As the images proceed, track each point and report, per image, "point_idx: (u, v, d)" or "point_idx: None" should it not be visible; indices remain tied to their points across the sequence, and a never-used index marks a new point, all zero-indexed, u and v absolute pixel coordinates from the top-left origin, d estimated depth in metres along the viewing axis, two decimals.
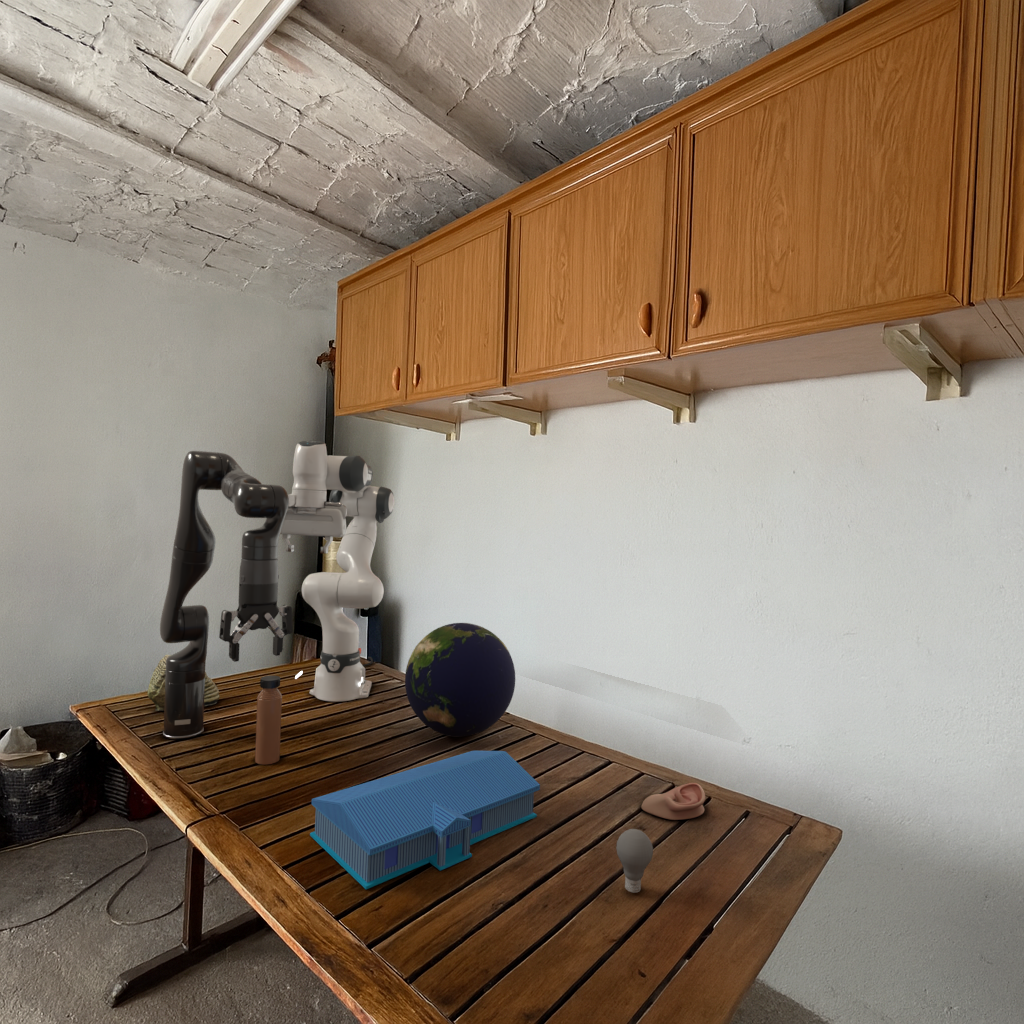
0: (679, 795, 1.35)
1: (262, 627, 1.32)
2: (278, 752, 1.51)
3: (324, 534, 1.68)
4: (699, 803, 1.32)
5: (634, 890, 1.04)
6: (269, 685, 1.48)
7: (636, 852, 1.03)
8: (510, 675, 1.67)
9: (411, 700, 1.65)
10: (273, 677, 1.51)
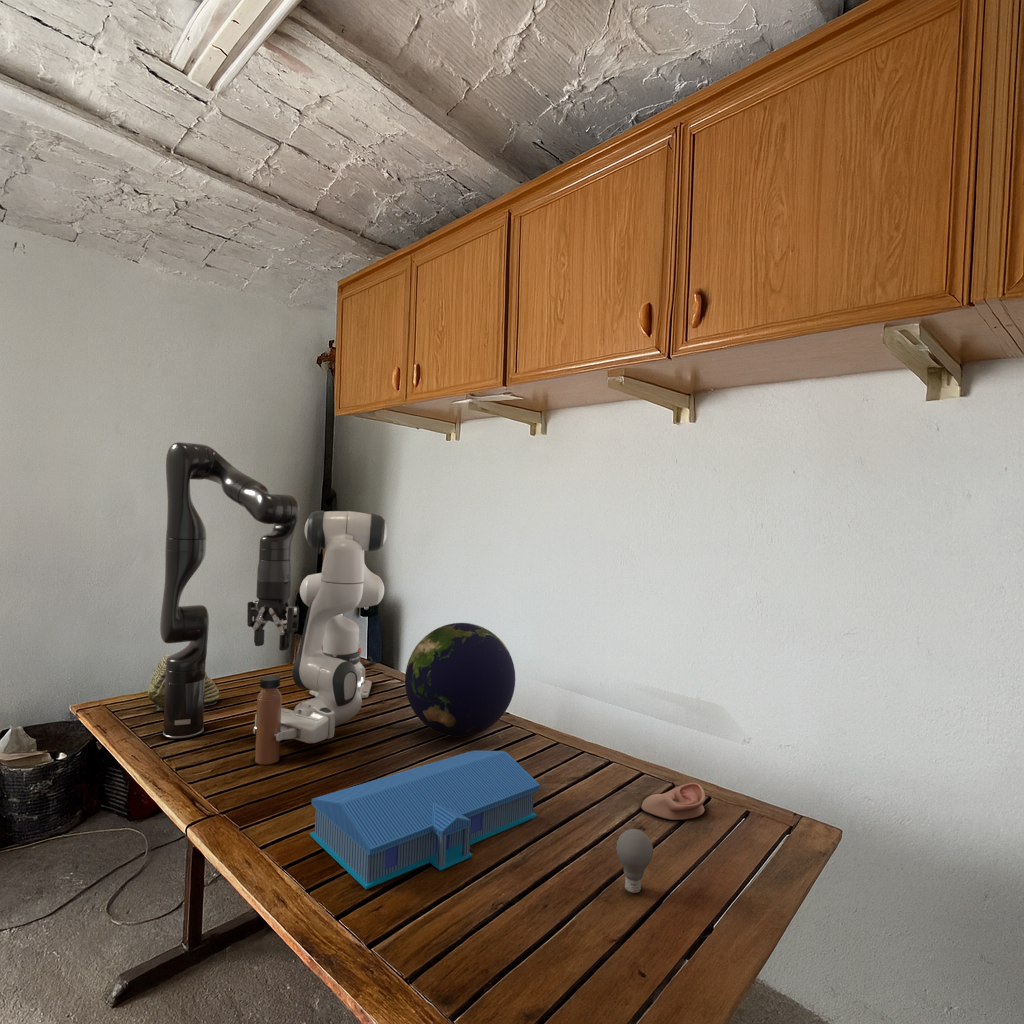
0: (679, 795, 1.35)
1: None
2: (278, 752, 1.51)
3: None
4: (699, 803, 1.32)
5: (634, 890, 1.04)
6: (268, 685, 1.48)
7: (636, 852, 1.03)
8: (510, 675, 1.67)
9: (411, 700, 1.65)
10: (273, 677, 1.51)
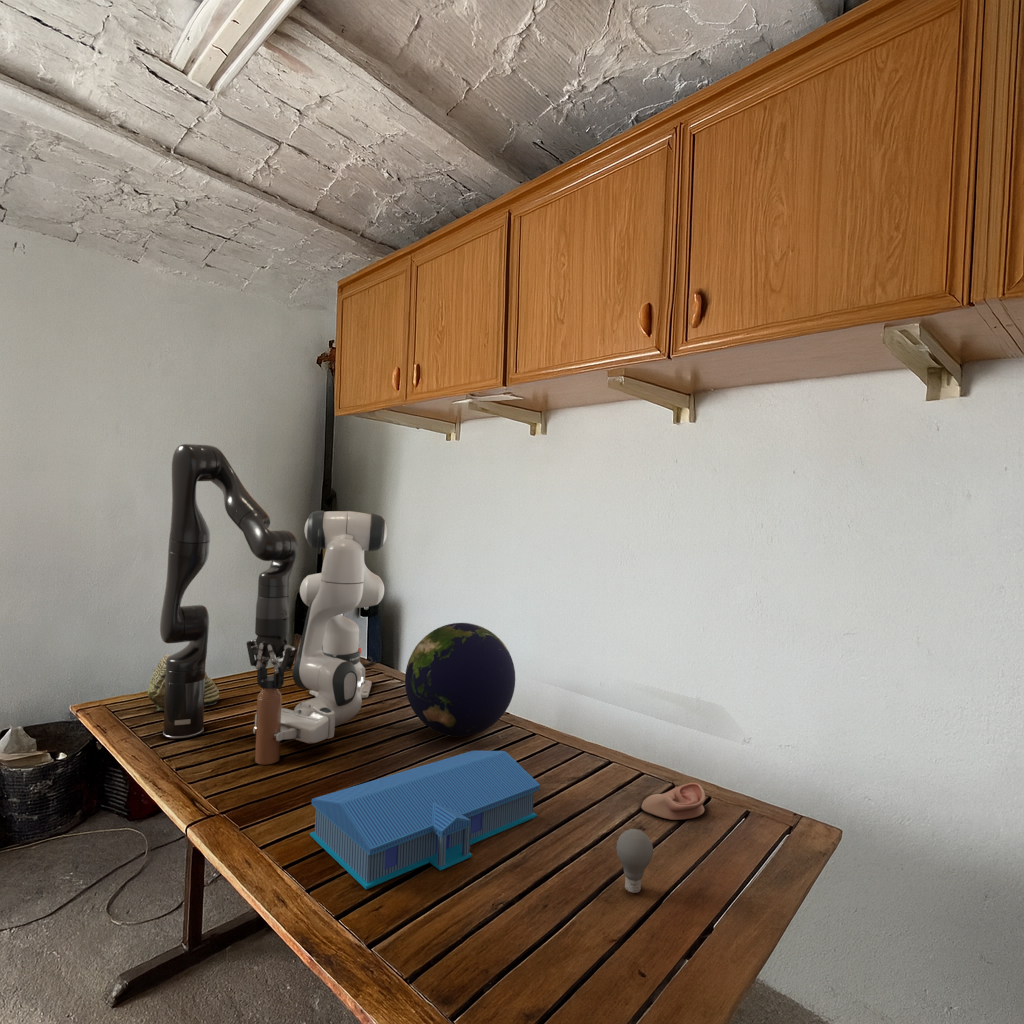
0: (679, 795, 1.35)
1: None
2: (278, 752, 1.51)
3: None
4: (699, 803, 1.32)
5: (634, 890, 1.04)
6: (268, 685, 1.48)
7: (636, 852, 1.03)
8: (510, 675, 1.67)
9: (411, 700, 1.65)
10: (273, 677, 1.51)
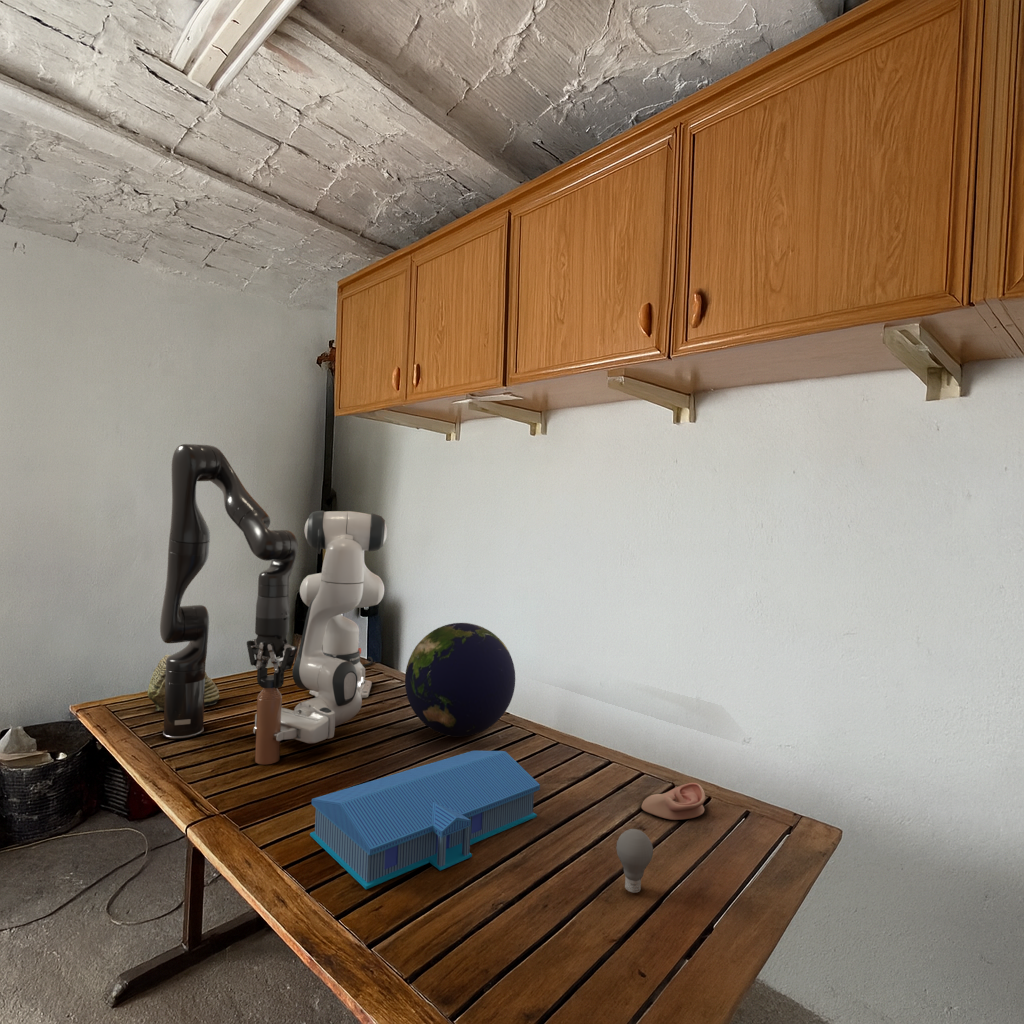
0: (679, 795, 1.35)
1: None
2: (278, 752, 1.51)
3: None
4: (699, 803, 1.32)
5: (634, 890, 1.04)
6: None
7: (636, 852, 1.03)
8: (510, 675, 1.67)
9: (411, 700, 1.65)
10: (268, 677, 1.51)
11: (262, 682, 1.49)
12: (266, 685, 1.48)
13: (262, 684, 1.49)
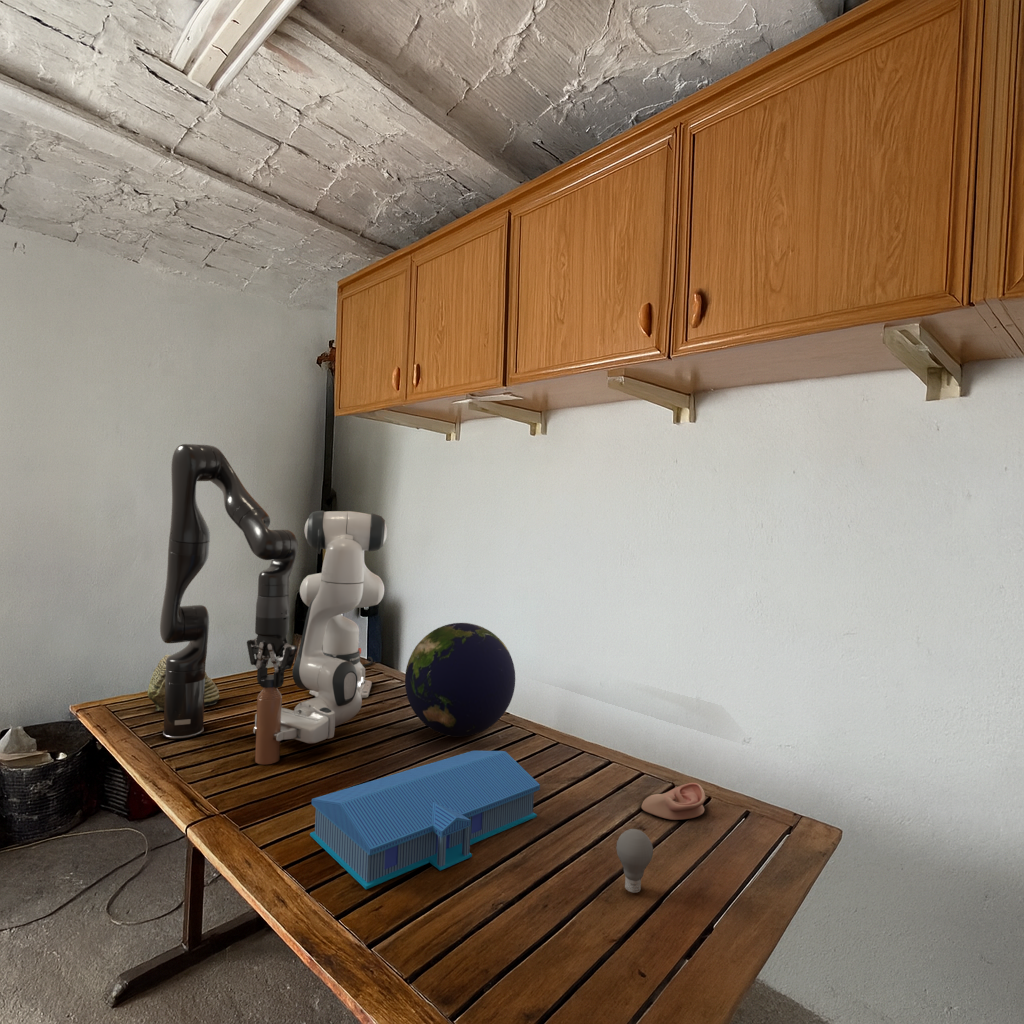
0: (679, 795, 1.35)
1: None
2: (278, 752, 1.51)
3: None
4: (699, 803, 1.32)
5: (634, 890, 1.04)
6: None
7: (636, 852, 1.03)
8: (510, 675, 1.67)
9: (411, 700, 1.65)
10: (267, 677, 1.50)
11: None
12: None
13: None
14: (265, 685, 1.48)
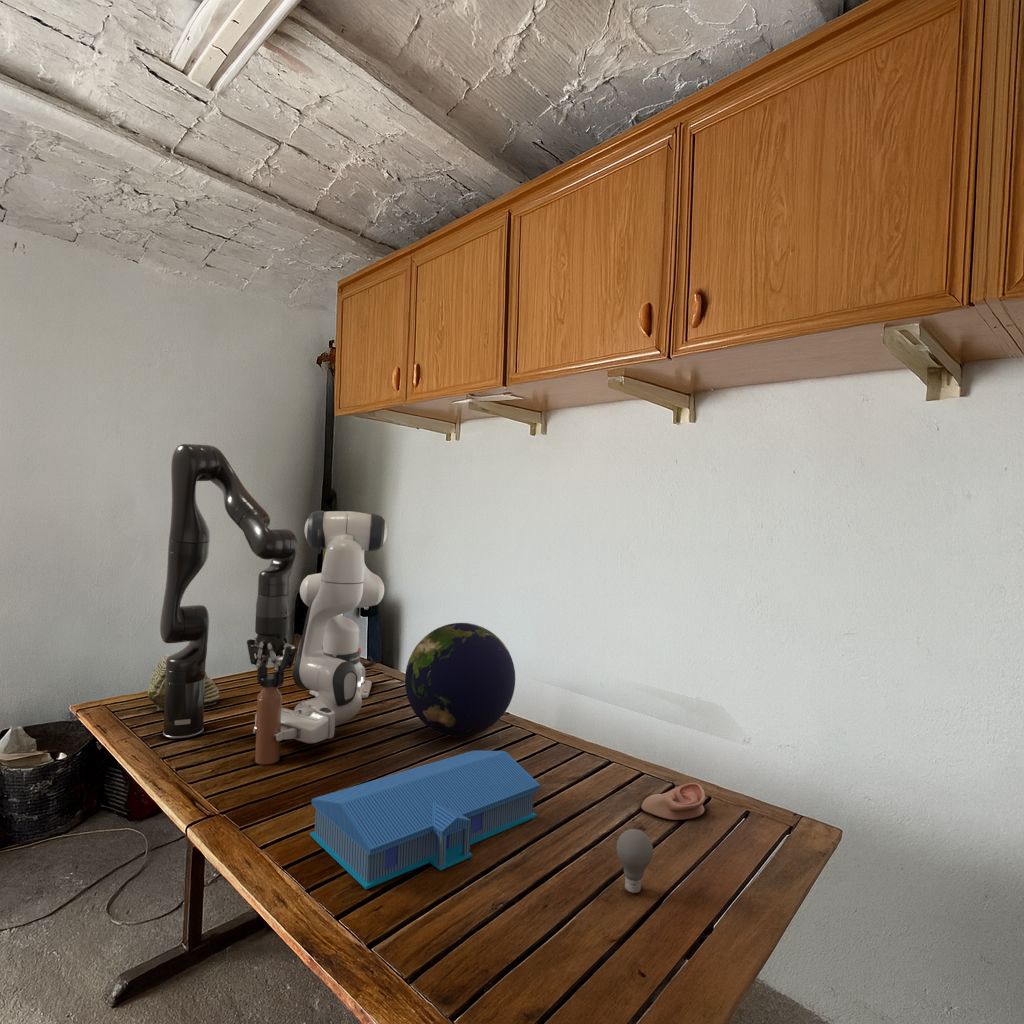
0: (679, 795, 1.35)
1: None
2: (278, 752, 1.51)
3: None
4: (699, 803, 1.32)
5: (634, 890, 1.04)
6: (260, 682, 1.49)
7: (636, 852, 1.03)
8: (510, 675, 1.67)
9: (411, 700, 1.65)
10: (273, 677, 1.50)
11: None
12: None
13: None
14: None
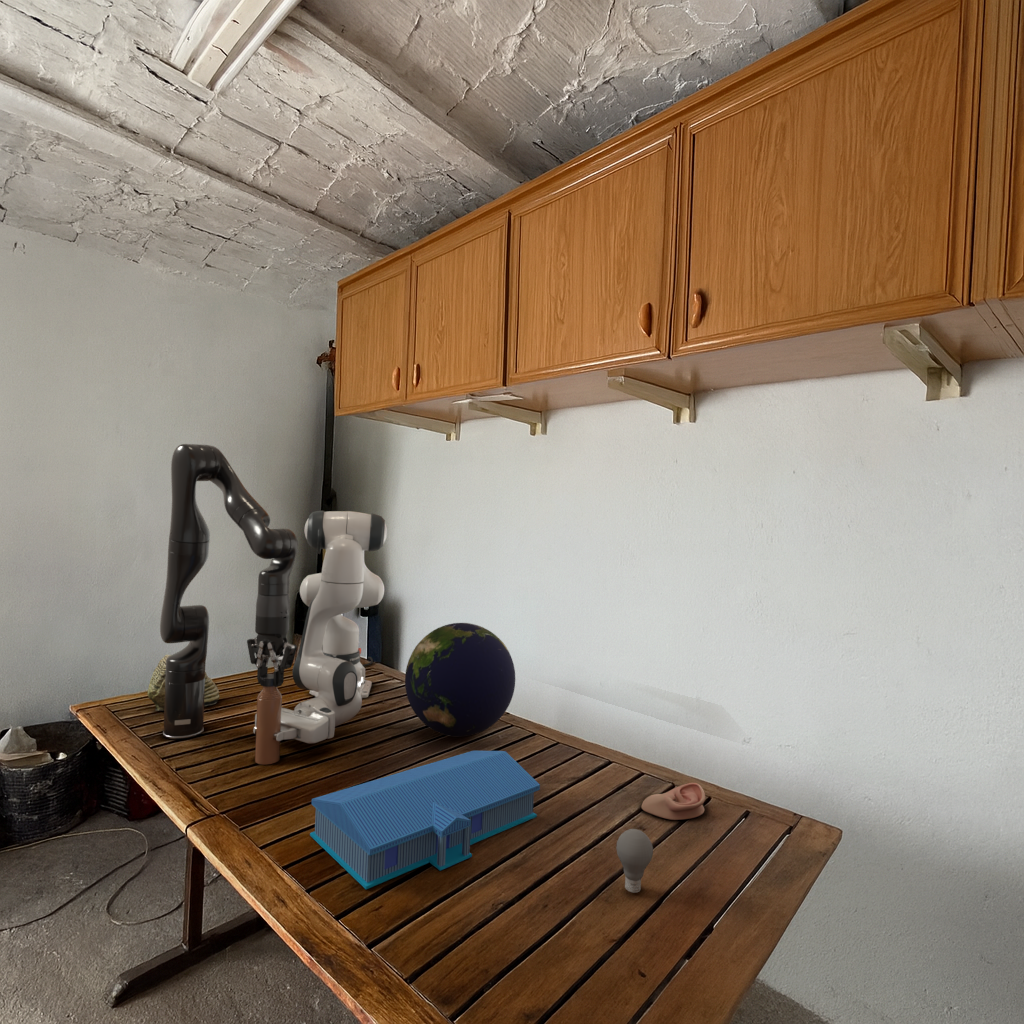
0: (679, 795, 1.35)
1: None
2: (278, 752, 1.51)
3: None
4: (699, 803, 1.32)
5: (634, 890, 1.04)
6: None
7: (636, 852, 1.03)
8: (510, 675, 1.67)
9: (411, 700, 1.65)
10: (272, 675, 1.51)
11: None
12: (260, 681, 1.50)
13: None
14: None
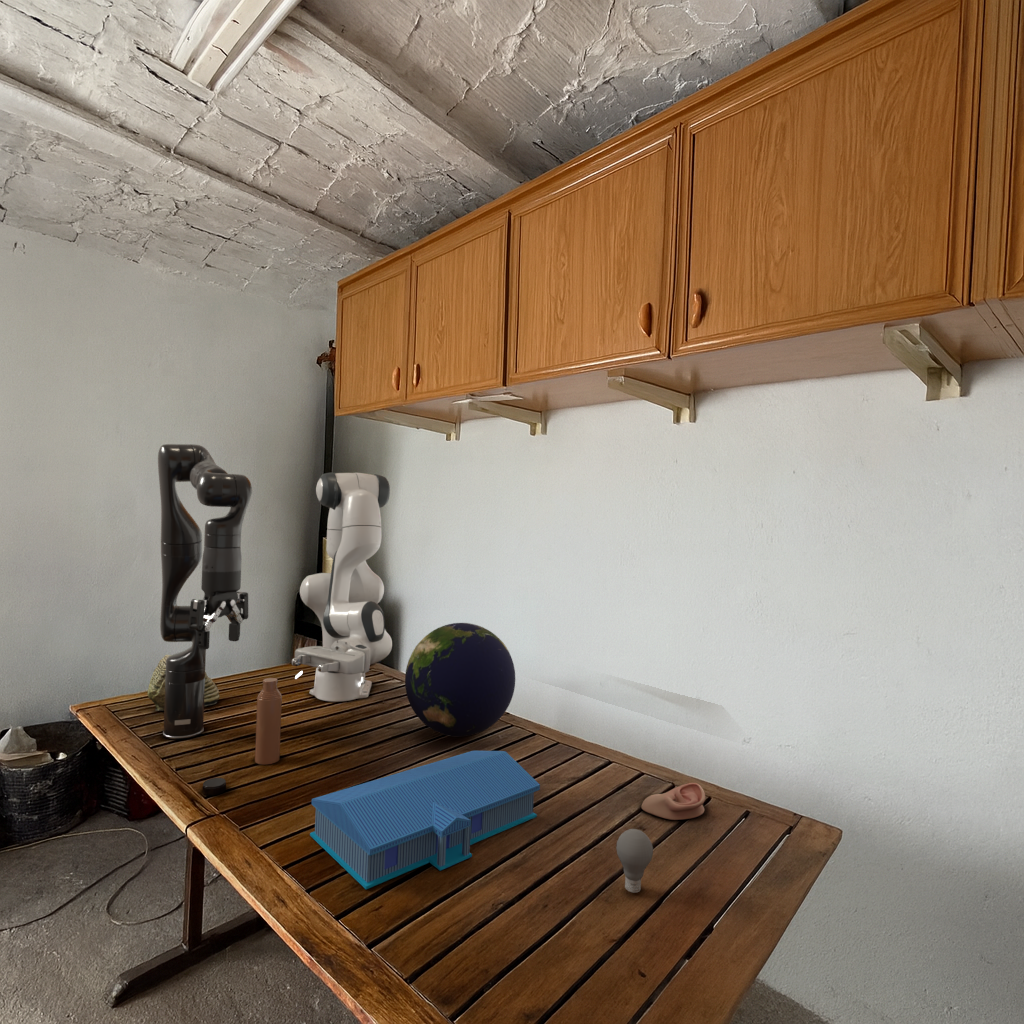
0: (679, 795, 1.35)
1: None
2: (278, 752, 1.51)
3: None
4: (699, 803, 1.32)
5: (634, 890, 1.04)
6: None
7: (636, 852, 1.03)
8: (510, 675, 1.67)
9: (411, 700, 1.65)
10: (211, 781, 1.34)
11: (208, 790, 1.32)
12: (214, 792, 1.32)
13: (208, 792, 1.32)
14: None
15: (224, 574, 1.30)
